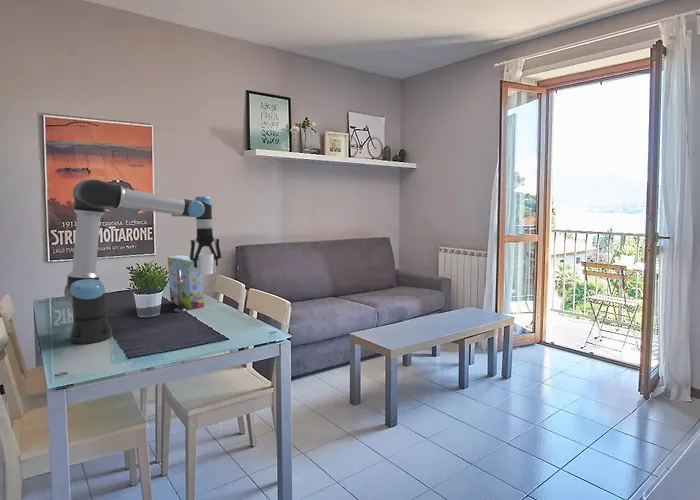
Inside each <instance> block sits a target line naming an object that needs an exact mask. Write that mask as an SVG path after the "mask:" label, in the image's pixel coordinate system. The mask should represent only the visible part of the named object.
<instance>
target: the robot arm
mask: <svg viewBox="0 0 700 500" xmlns="http://www.w3.org/2000/svg"><path fill="white" fill-rule="evenodd" d="M72 198H73V210H72V211H73V212H75V213H76V224H75V225H76V226H75V236H74V237H75V239H74V249H73V258H72V259H73V261H72V271H71V272H69V273H68V274H67V278H66V279H67V280H66V286H65V287H64V290H63V291H64V292H63V293H64V297H65V300H66V301H67V302H68V304H70V306H71V311H72V326H71V328H70V331H69V336H68V338H69V342H70V343H72V344H75V345H76V344H78V345H80V344H81V345H82V344H83V345H84V344H85V345H86V344H93V343H98V342H102V341H106V340H108V339H110V338H112V337H113V330H112V327H111V325H110V323H109V321H108V318H107V308H106V293H105V291H106V288H105V285H104V282H103V281H102V280H100V275H99V274H98V273H97V271H96V270H97V263H98V262H97V261H98V247H99V238H100V237H99V236H100V227H101V217H102V216H104V214H106V208H111V209H119V208H121V207H122V208H129V209H135V210H143V211H150V212H155V213H164V214H170V215H171V216H172V217H178V218H180V217H187V218H195V220H196V221H195V222H196V223H195V224H196V238H195V239H191V240H190V251H189V257H190V260H193V261H194V267H195V268H196V274H199V261H197V259H198V257H199V256H198V255H199V254H201V250H202V249H203V248H205V247H208V248H209V250H210V253H212V254H214V268H213V274H216V273H217V267H218V266H219V265H218V264H219V262H218V260H220V259H222V254H221V249H220V239H219V238H214V236H213V234H214V233H213V231H214V230H213V228H212V227H213V214H212V213H213V209H212V207H213V203H212V198H211V197H210V196H195V199H194V200H192V199H185V198H181V197H174V196H168V195H163V194H158V193H157V194H156V193H151V192H146V191H140V190H139V191H138V190H133V189H129V188H124V187H123V186H122V185H120V184H115V183H110V182H106V181H103V180H101V179H95V178H93V179H91V178H90V179H85V180H82V181H79V182H78V183H77V184H76V185H75V187H74V188H73V190H72ZM213 243H214V244H215V249H216V250H215V249H214V247H213ZM196 244H198V245H197V249H196V252H195V245H196ZM193 257H194V258H193Z"/></svg>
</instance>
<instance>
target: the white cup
mask: <svg viewBox="0 0 700 500" xmlns="http://www.w3.org/2000/svg"><path fill="white" fill-rule="evenodd" d="M198 256H199V257H198V261H199V274H200V275H202V276H204V275H205V276H206V275H207V276H208V275H214V272H213V268H214V254H212V253H211V252H206V253H205V252H204V253H201V252H200V254H199V255H198Z"/></svg>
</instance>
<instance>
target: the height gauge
mask: <svg viewBox="0 0 700 500" xmlns="http://www.w3.org/2000/svg"><path fill="white" fill-rule="evenodd" d="M176 283H177V288H178V305H177V306H178V308H177V307H176V308H174V313H177V312H178V313H185V312H188V308H186V307H183V303H182V283H183V280H181V270H177V280H176Z"/></svg>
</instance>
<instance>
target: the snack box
mask: <svg viewBox="0 0 700 500" xmlns="http://www.w3.org/2000/svg"><path fill="white" fill-rule="evenodd" d="M194 257H195V256H194ZM194 257H193V258H194ZM197 261H198V259H197ZM167 269H168V280H169V281H168V282H169V297H170V298H169V299H170V303H171V304H174V305H177V306H178V288H177V283H176V280H177V270H181V280H183V283H182V303H183V308H187V309H189V310H194V309H199V308H203V307H205V298H204V297H205V295H204V275H200V274H196V268H195V267H194V261H193V260H190V255H189V256H188V255H184V254H183V255H182V254H181V255H179V254H177V255H171V256H167Z"/></svg>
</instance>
